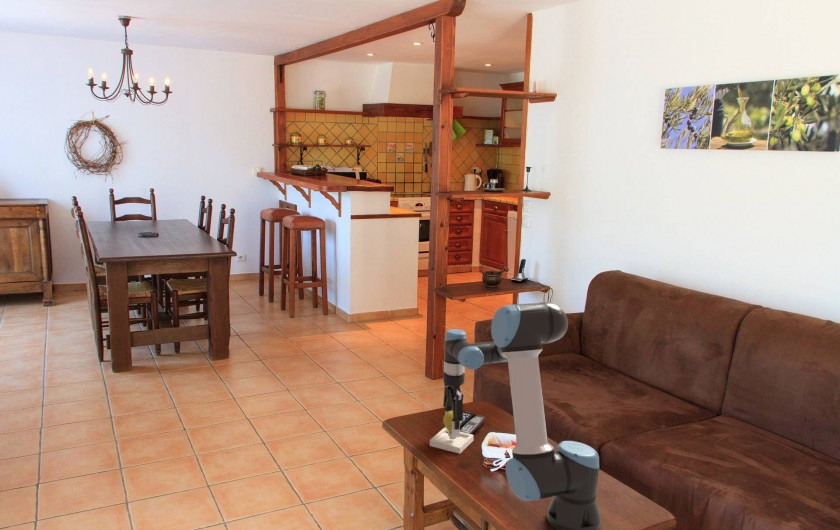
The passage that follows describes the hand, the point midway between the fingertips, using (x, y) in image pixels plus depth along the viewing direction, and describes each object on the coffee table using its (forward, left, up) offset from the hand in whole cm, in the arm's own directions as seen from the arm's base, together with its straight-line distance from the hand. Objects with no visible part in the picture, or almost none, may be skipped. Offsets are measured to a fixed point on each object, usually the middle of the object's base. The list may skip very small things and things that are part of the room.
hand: (452, 432), depth 232 cm
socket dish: (0, 0, -4) cm, 4 cm away
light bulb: (-1, -1, -2) cm, 2 cm away
